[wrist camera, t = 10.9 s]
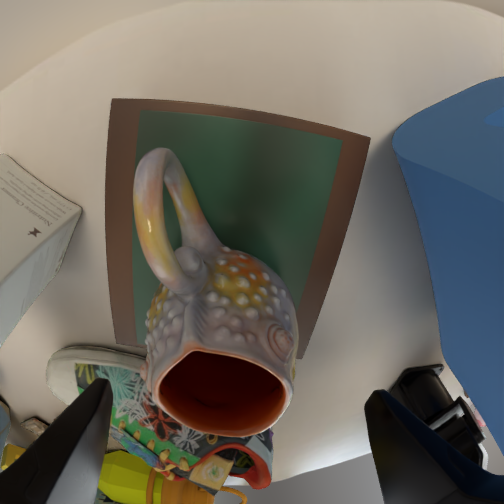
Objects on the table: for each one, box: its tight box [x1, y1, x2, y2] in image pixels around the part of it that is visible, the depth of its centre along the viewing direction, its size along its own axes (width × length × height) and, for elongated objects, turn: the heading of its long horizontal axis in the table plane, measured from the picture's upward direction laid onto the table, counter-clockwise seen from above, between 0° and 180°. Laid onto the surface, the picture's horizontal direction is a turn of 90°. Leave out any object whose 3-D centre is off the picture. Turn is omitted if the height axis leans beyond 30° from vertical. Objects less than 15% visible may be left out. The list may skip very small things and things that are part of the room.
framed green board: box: [105, 98, 371, 359], centre depth 16 cm, size 12×14×4 cm
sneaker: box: [46, 346, 274, 496], centre depth 20 cm, size 8×21×10 cm, turn 63°
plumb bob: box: [98, 450, 247, 504], centre depth 28 cm, size 9×9×25 cm
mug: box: [133, 147, 299, 437], centre depth 12 cm, size 12×7×7 cm, turn 10°
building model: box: [20, 418, 55, 437], centre depth 28 cm, size 15×9×2 cm, turn 131°
